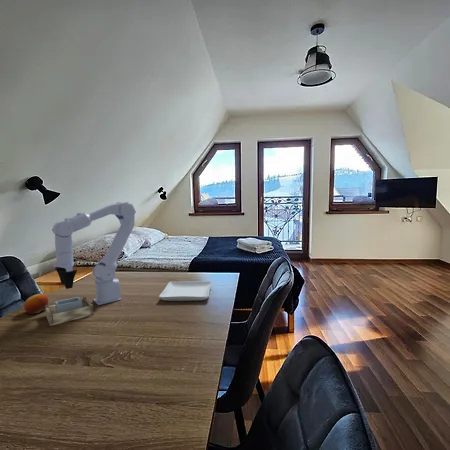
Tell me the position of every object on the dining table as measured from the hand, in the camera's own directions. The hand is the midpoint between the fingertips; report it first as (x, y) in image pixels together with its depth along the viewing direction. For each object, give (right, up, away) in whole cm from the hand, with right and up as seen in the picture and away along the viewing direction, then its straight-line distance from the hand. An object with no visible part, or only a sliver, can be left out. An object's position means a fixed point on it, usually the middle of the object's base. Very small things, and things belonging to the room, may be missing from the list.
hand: (66, 286), depth 108 cm
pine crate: (+3, -10, -4) cm, 12 cm away
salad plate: (+45, -8, +17) cm, 49 cm away
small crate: (+3, -10, -4) cm, 11 cm away
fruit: (-12, -10, 0) cm, 16 cm away
